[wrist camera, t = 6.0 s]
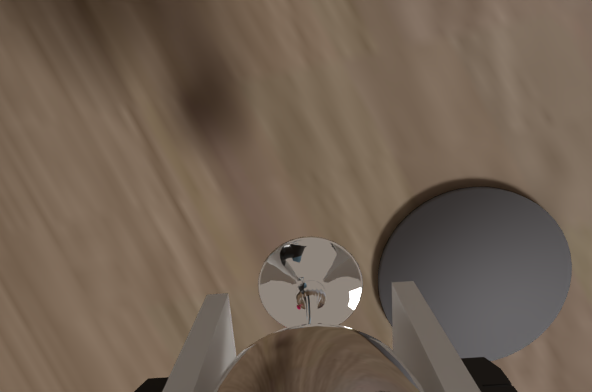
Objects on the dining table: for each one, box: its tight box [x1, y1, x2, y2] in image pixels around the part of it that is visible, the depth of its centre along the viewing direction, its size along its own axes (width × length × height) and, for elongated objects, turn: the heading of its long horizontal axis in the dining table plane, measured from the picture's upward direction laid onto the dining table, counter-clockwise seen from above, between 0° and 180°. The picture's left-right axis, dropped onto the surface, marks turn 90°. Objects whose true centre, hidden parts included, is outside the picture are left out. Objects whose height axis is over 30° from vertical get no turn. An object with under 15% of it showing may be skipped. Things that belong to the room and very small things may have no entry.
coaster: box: [378, 187, 572, 361], centre depth 26 cm, size 12×12×1 cm
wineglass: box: [211, 236, 429, 392], centre depth 11 cm, size 6×6×12 cm
